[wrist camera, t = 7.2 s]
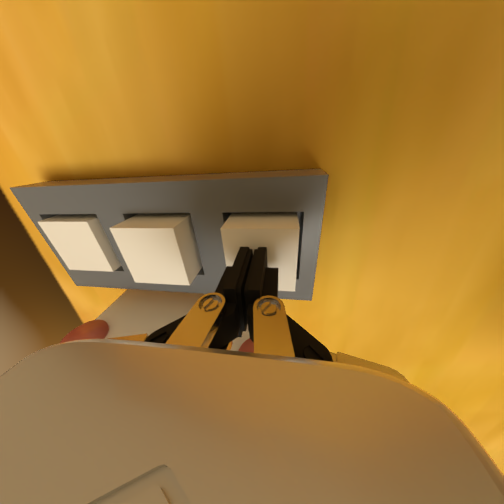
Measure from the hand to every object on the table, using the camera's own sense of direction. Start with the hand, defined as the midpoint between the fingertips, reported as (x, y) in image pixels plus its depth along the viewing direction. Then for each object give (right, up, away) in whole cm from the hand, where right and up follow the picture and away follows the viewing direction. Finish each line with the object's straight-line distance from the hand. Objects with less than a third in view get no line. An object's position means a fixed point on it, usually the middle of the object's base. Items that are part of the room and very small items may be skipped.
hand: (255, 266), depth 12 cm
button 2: (-15, +3, +7) cm, 16 cm away
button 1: (+1, +2, +3) cm, 4 cm away
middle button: (-7, +2, +4) cm, 9 cm away
